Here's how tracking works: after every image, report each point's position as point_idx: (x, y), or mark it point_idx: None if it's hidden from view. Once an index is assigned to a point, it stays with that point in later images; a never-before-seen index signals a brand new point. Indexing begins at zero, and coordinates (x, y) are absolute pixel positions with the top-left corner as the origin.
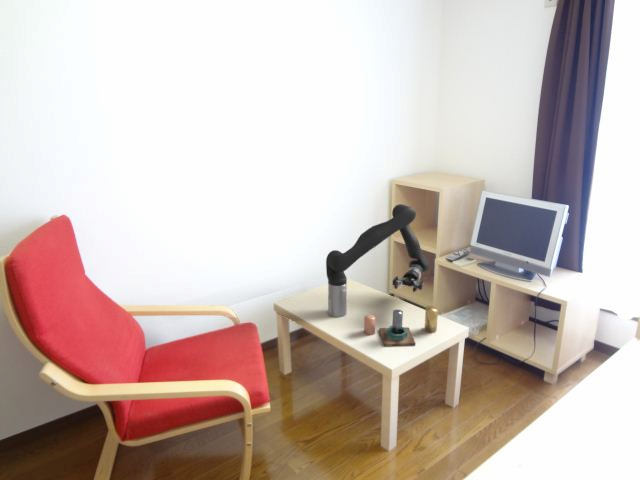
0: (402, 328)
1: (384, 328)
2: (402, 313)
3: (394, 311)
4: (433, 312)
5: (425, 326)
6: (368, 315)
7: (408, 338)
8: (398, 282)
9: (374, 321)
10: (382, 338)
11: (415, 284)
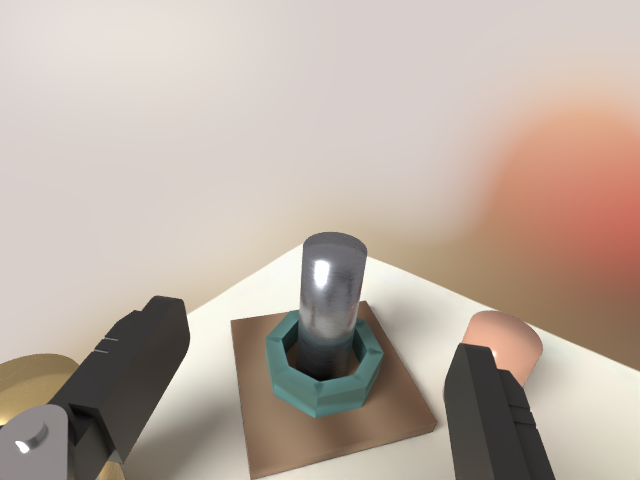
0: (294, 369)
1: (405, 425)
2: (304, 244)
3: (357, 249)
4: (36, 359)
5: (121, 470)
6: (526, 350)
7: (260, 348)
8: (491, 476)
9: (464, 338)
10: (383, 332)
11: (68, 429)
